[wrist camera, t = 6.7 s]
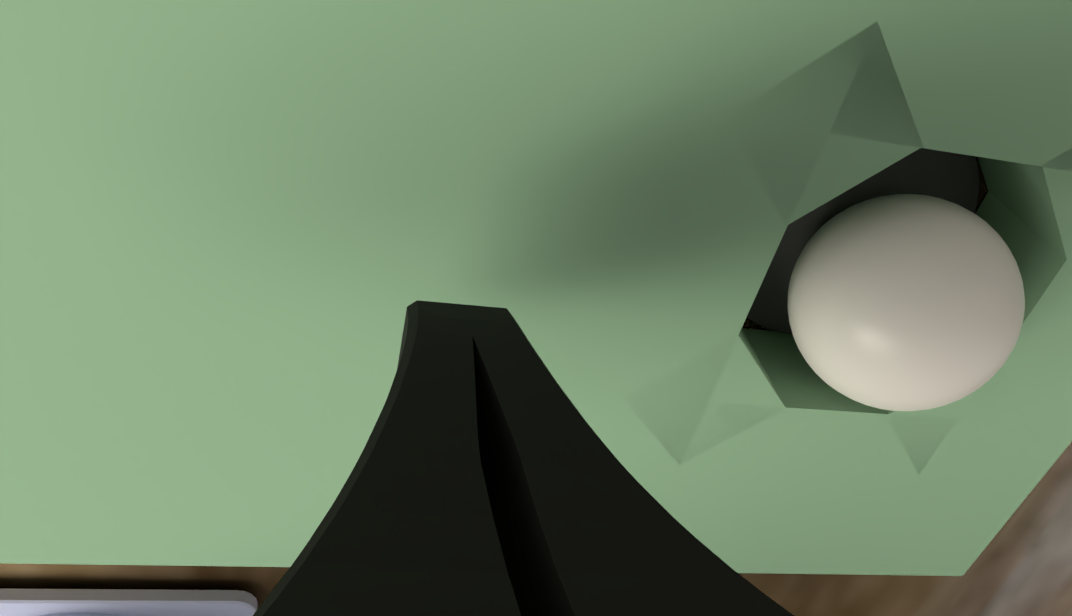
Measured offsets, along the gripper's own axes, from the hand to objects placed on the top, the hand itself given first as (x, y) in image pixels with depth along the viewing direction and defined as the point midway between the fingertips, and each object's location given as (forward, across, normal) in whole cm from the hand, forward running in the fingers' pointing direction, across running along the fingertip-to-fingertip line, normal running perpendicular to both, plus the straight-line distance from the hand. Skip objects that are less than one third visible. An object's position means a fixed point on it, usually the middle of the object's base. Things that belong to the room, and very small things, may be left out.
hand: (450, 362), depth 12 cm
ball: (+3, -9, 0) cm, 9 cm away
